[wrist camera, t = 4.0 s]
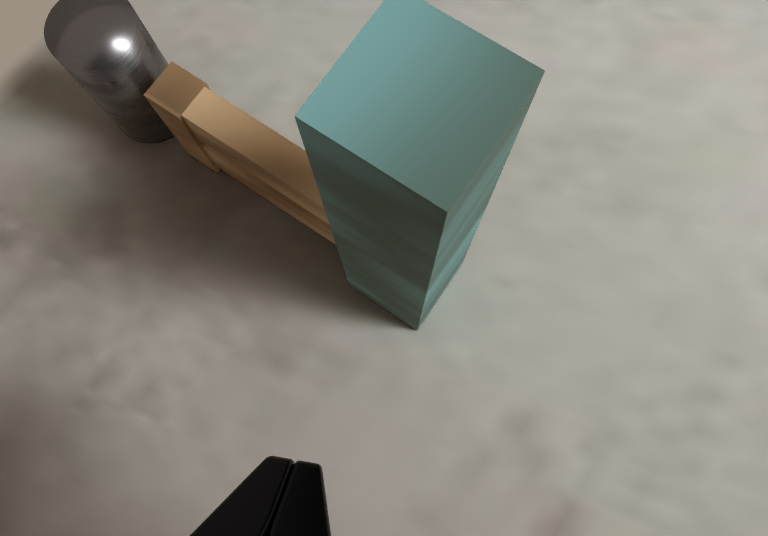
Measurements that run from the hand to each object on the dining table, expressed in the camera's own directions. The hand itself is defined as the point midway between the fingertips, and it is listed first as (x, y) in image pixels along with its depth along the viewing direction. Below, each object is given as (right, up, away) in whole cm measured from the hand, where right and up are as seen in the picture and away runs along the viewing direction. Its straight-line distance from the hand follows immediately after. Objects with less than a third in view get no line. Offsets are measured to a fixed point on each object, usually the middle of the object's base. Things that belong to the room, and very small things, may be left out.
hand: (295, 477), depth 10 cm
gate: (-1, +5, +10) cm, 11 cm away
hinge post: (-6, +8, +11) cm, 15 cm away
